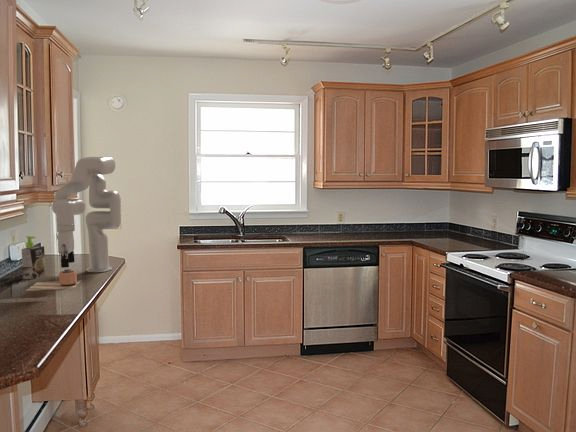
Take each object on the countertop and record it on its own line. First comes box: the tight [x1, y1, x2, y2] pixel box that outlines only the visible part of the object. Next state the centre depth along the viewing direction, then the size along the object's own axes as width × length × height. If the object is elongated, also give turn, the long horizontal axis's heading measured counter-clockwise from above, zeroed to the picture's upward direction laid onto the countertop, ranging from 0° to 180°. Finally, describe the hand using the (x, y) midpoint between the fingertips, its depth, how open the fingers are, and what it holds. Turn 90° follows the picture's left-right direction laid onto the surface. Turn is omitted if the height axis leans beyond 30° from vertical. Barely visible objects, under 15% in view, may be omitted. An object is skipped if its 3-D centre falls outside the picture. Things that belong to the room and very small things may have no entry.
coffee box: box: [21, 245, 47, 280], centre depth 258 cm, size 9×6×16 cm
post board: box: [25, 268, 82, 292], centre depth 241 cm, size 16×20×8 cm
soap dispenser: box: [25, 235, 36, 248], centre depth 269 cm, size 6×7×20 cm
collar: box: [58, 269, 78, 285], centre depth 242 cm, size 7×7×5 cm
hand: (68, 264), depth 242 cm, fingers open, 9 cm apart
